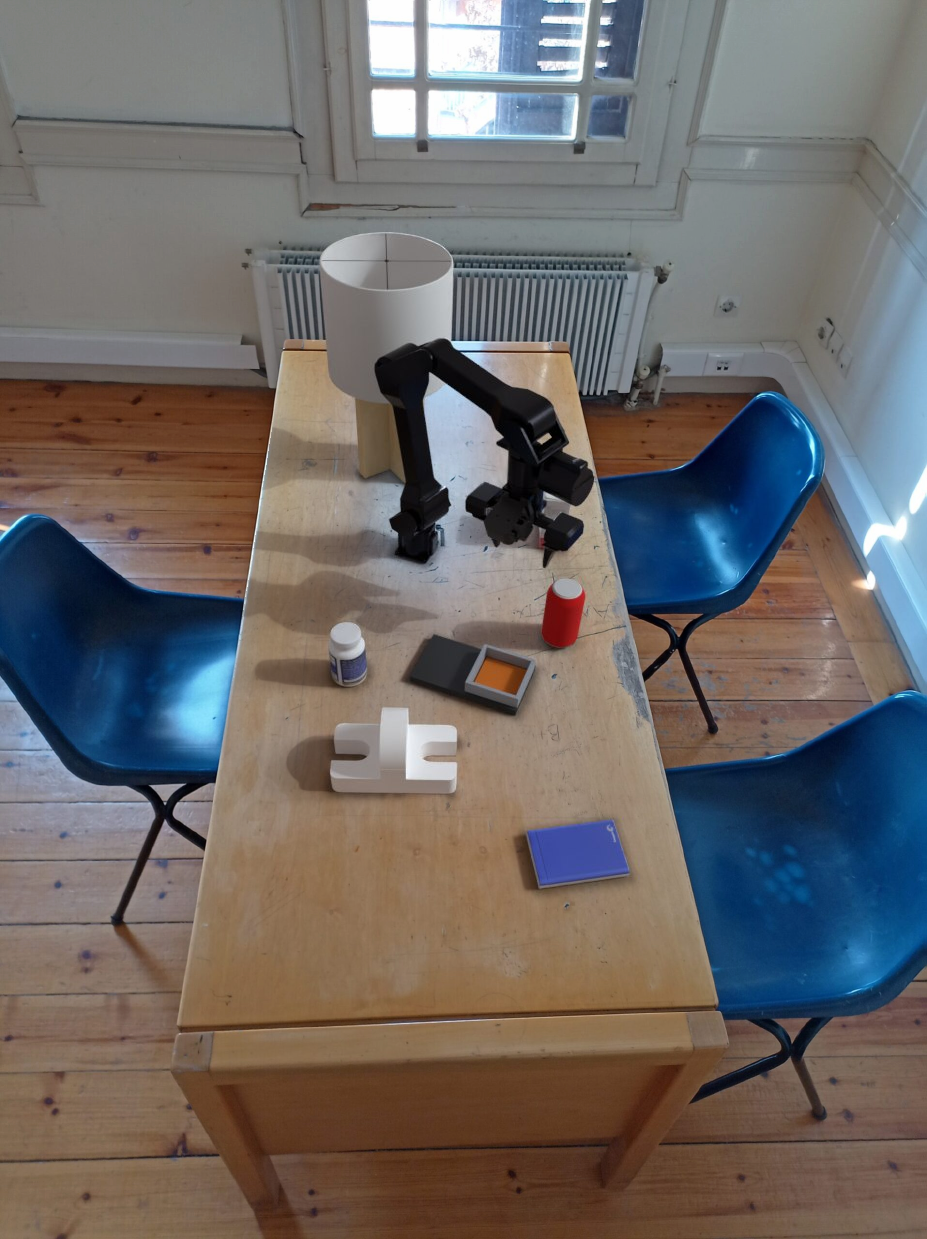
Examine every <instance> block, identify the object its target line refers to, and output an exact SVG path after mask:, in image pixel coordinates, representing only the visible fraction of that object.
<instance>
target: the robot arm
mask: <svg viewBox="0 0 927 1239" xmlns="http://www.w3.org/2000/svg"><path fill="white" fill-rule="evenodd" d="M374 371H375V376H376V379H377V382H378V386H379V389H380V392H381V394H382V395H383V396H384V397H385V398H386V399H387V400H388V401H389V402H390V403H391V404H392V407H393V412H394V417H395V423H396V429H397V435H398V440H399V446H400V452H401V458H402V463H403V469H404V475H405V481H406V482H405V483H404V486H403V489H402V492H401V494H400V497H399V509H400V510H399V512H397V513H396V514H394V515H393V516H391V517H389V518H388V522H389V526H390V528H391V530H392V531H394V532H396V533H397V547H396V548H395V550H394V556H397V557H400V558H402V559H403V558H404V559H405V560H410V561H413V562H417V563H419V564H420V563H421V564H423V565H424V564H425V565H426V564H427V563H428V562H429V560H430V559H431V557H432V556H434V554H435V553H436V551H437V550H438V548H439V544H440V542H439V531H438V530H436V527H437V526H436V524H437V522H438V521H439V520H441V519H442V518H444V517H445V516H446V515H447V514H448V513H449V511H450V507H452V503H451V501H450V496H449V492H450V490H449V488H448V486H443V485H442V484H441V483H440V482H439V480H437V479H436V478H435V473H434V468H433V462H432V461H433V460H432V452H431V447H430V441H429V440H430V439H429V435H428V428H427V427H428V426H427V420H426V414H425V405H424V406H423V399H424V400H425V398H424V396H425V393H426V390H427V387H428V384H429V372H430V373H432V374H433V375H435V376H436V377H437V378H439V379H440V380H442V381H443V382H444V383H446V384H445V385H447V386H448V387H450V388H451V389H453V390H454V391H455V392H456V393H458V394H460V395H461V396H462V397H464V398H465V399H466V400H468V401H469V402H471V403H472V404H473V405H475V407H478V408H479V409H481V410H482V411H483V412H484V413H486V414H487V415H488V416H489V417H490V419H491V421H492V424H493V426H494V429H495V431H497V433H498V434H500V435H501V436H502V437H501V438H499V439H498V440H497V441H496V442H495V444H496V446H497V447H499V448H501V449H503V450H506V451H507V469H506V482H505V483H504V485H503V486H502V487H500V486H497V485H494V484H492V483H489V482H487V481H483V482H482V483H480V484H479V485H478V486H477V487H475V488H474V489H473V490H472V491H471V492H469V494H467V495H466V497H465V500H464V502H465V504H464V509H465V512H466V513H469V514H471V516H472V517H473V518H474V519H477V520H479V521H481V522H483V525H484V528H485V533H486V535H487V537H488V538H489V539H491V541H492V544H493V547H494V548H496V549H497V548H499V546H500V545H501V543H502V544H504V545H506V546H511V545H513V544H515V543H518V542H519V541H522V542H526V541H527V540H528V539H529V537H530V535H531V534H532V532H533V530H534V526H535V527H537V528H539V527H540V528H543V529H545V530H546V531H545V533H544V541H545V542H544V543H543V544H542V546H544V547H545V549H543V557H542V568H543V569H546V568H547V567H548V566H549V564H550V563H551V561H552V559H554V558H553V557H554V556H555V554H556V553H557V552H568V551H569V550H570V549H571V548H572V546H573V545H574V544H575V543H576V542H577V541H578V540H579V538H580V537H582V535H584V529H585V523H584V521H583V520H582V519H580V518H578V517H576V516H573V515H571V514H569V515H568V514H565V513H563V512H561V513H560V514H559V515H558V516H557V517H556V518H554V517H551V516H549V515H546V514H544V513H542V510H543V509H544V508H545V507H546V505H547V501H546V500H543V495H544V492H546V493H548V494H550V495H552V496H554V497H556V498H558V499H561V500H563V501H565V502H567V503H569V504H571V506H573V507H579V506H581V505H582V504H583V503H584V502H585V501H586V500H587V498H588V497H589V495H590V493H591V492H592V489H593V487H594V484H595V478H596V476H595V475H594V471H593V470H592V469H591V468H589V462H588V461H587V460H585V459H583V458H579V457H575V456H573V455H570V453H569V454H568V453H567V452H564V449H565V447H567V446H568V445H570V441H569V438H568V436H567V434H566V430H565V429H564V427H563V425H562V423H561V421H560V419H559V417H558V414H557V413H556V411H555V407H554V404H553V403H552V402H551V401H550V400H549V399H548V398H547V397H545V396H544V395H541V394H539V393H537V392H535V391H533V390H530V389H529V388H523V387H516V386H511V385H509V384H507V383H505V382H504V381H502V380H501V379H499V378H498V377H496V376H495V375H494V374H492V373H491V372H489V371H488V370H487V369H485V368H484V367H482V366H481V365H480V364H478V363H476V362H475V361H474V360H473V359H471V358H469V357H468V356H466V355H465V354H464V353H463V352H462V351H459V349H456V347H454V345H453V344H452V341H451V342H450V341H449V340H448V339H446V338H437V339H435V340H434V341H430V342H427V343H424V344H422V345H419V346H417V345H415V344H413V343H407V344H405V345H403V346H401V347H399V348H397V349H395V350H393V351H392V352H390V353H388V354H386V355H384V356H382V357H380V358H379V359H378V360H377V362H376V363H375V365H374ZM547 434H548V435H549V436H550V438H549V439H547V440H545V441H544V442H542V443H541V442H539V440H540V439H542V438H543V437H545V436H546V435H547Z"/></svg>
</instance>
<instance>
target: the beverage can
mask: <svg viewBox="0 0 927 1239" xmlns="http://www.w3.org/2000/svg"><path fill="white" fill-rule="evenodd" d="M585 601H586V592H585V590H584V588H583V586H582V584H581V583H580V582H579V581H577V580H575V579H572V578H570V577H569V578H568V577H562V578H559V579H558V578H557V579H556V580H555V581H554V582H553V583H552V584H550V586H549V587H548V588H547V591H546V598H545V604H544V609H543V615H542V622H541V629H540V630H541V631H540V633H541V637H542V639H543V640H544V642H545V643H546V644H547V645H549V646H551V647H553V648H556V649H566V648H569V647H571V646H573V645H574V644H575V643H576V641H577V640H578V637H579V634H580V633H579V632H580V629H581V628H580V627H581V621H582V617H583V612H584V608H585Z"/></svg>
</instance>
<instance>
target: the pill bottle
mask: <svg viewBox="0 0 927 1239" xmlns="http://www.w3.org/2000/svg"><path fill="white" fill-rule="evenodd" d="M329 636H330V639H329V643H328V656H329V665H330V673H331V677H332V680H333V681H334V682H335V683H336V684H337V685H339V686H341V687H346V688H347V687H349V688H350V687H355V686H358V685H360V684H361V683H363V682H364V681H365V679H366V678H367V674H368V665H367V652H366V650H367V649H366V641H365V640H364V638H363V637H362V630H361V628H360V627H359V625H357V624H355V623H354V622H349V621H344V622H339V623H337V624H335V625H334V626H333V627H332V629H331V630H330V634H329Z"/></svg>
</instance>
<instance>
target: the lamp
mask: <svg viewBox="0 0 927 1239" xmlns="http://www.w3.org/2000/svg"><path fill="white" fill-rule="evenodd" d="M318 265H319V275H320V276H319V277H320V278H319V279H320V288H321V290H320V291H321V301H322V312H323V313H322V314H323V323H324V324H323V325H324V335H325V337H324V338H325V347H326V348H325V349H326V356H327V357H326V358H327V371H328V375H329V379H330V381H331V383H332V384H333V385H334V386H335V387H336V388H337V389H339V391H340V392H342V393H344V394H346V395H347V396H350V397H352V398H354V403H355V404H354V407H355V419H356V437H357V454H358V471H359V474H360V475H361V476H362V477H363V478H364V479H367V478H370V477H372V476H376V475H379V474H381V473H384V472H387V471H389V470H390V471H391V472H392V473H394V474H395V475H396V476H397V478H398V479H399V480H401V482H402V483H403V484H405V482H406V481H405V475H404V469H403V463H402V458H401V452H400V446H399V440H398V435H397V429H396V423H395V417H394V412H393V407H392V404H391V403H390V402H389V401H388V400H387V399H386V398H385V397H384V396H383V395H382V394H381V392H380V389H379V386H378V382H377V379H376V376H375V371H374V365H375V363H376V362H377V360H378V359H379V358H380V357H382V356H384V355H386V354H388V353H390V352H392V351H393V350H395V349H397V348H399V347H401V346H403V345H405V344H407V343H413V344H415V345H417V346H419V345H422V344H424V343H427V342H430V341H434V340H435V339H437V338H446V339H448V340H449V341H450V342H451V343H452V330H453V329H452V328H453V327H452V324H453V297H454V296H453V295H454V294H453V292H454V290H453V289H454V259H453V256H452V254H451V253H450V251H448V250H447V249H446V248H445V247H444V246H443V245H442V244H439V243H437V242H435V241H433V240H431V239H428V238H425V237H422V236H419V235H415V234H409V233H402V232H389V231H388V232H385V231H381V232H367V233H360V234H355V235H351V236H348V237H347V236H346V237H344V238H341V239H339V240H337V241H335V242H333V243H331V244H330V245H328V246H327V247H326V248H325V249H324V250H323V251H322V252H321V254H320V257H319V260H318ZM445 385H447V384H446V383H444V382H443V381H442V380H440V379H439V378H437V377H436V376H435V375H433V374H432V373H430V372H429V384H428V387H427V390H426V393H425V396H424V399H423V406H424V407H425V398H427V397H429V396H431V395H434V394H435V393H438V391H440V390H441V389H442V388H443V387H444V386H445Z"/></svg>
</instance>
